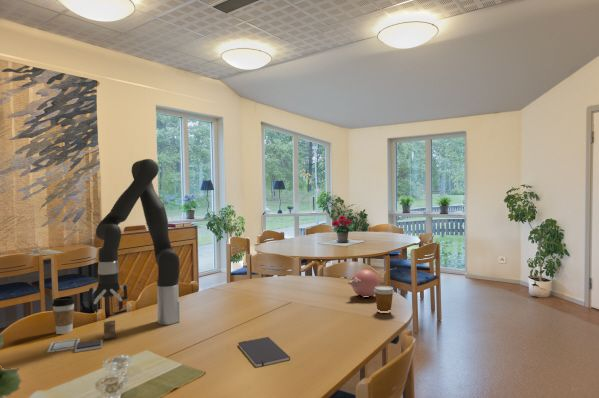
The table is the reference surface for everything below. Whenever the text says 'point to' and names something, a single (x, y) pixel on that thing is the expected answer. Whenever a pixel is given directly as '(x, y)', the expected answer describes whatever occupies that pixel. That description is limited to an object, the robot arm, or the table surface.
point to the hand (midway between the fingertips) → (108, 311)
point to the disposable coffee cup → (383, 297)
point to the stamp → (109, 330)
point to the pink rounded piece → (364, 283)
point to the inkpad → (88, 345)
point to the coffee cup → (63, 314)
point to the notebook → (263, 351)
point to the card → (63, 345)
